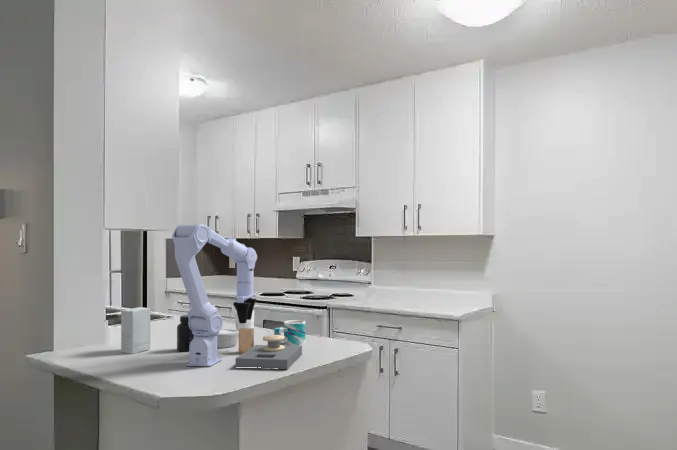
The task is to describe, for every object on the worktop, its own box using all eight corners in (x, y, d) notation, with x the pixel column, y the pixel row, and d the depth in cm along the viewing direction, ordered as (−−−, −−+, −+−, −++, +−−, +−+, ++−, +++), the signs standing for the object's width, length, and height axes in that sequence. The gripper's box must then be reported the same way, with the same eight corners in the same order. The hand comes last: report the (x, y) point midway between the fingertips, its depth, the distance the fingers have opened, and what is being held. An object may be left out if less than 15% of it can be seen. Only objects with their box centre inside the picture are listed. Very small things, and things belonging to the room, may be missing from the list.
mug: (309, 344, 190) (309, 321, 191) (281, 349, 183) (281, 325, 183) (297, 341, 197) (297, 319, 197) (270, 345, 190) (270, 322, 190)
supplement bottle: (172, 351, 181) (172, 316, 181) (186, 347, 187) (186, 314, 187) (187, 352, 177) (187, 317, 178) (201, 349, 183) (201, 315, 184)
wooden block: (251, 353, 176) (251, 329, 176) (238, 353, 177) (238, 329, 177) (253, 351, 179) (253, 328, 179) (241, 351, 180) (241, 328, 180)
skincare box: (139, 348, 186) (139, 306, 186) (151, 349, 183) (151, 307, 183) (119, 352, 178) (120, 309, 179) (132, 354, 175) (132, 310, 176)
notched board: (287, 369, 153) (287, 346, 153) (235, 368, 156) (235, 344, 156) (301, 355, 173) (301, 334, 173) (255, 353, 175) (255, 333, 175)
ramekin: (244, 343, 193) (244, 329, 194) (230, 349, 183) (230, 334, 183) (217, 342, 196) (217, 328, 197) (201, 348, 186) (201, 333, 186)
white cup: (231, 336, 207) (231, 311, 208) (240, 333, 215) (240, 308, 215) (249, 337, 205) (249, 312, 205) (257, 334, 213) (257, 309, 213)
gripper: (251, 283, 172) (252, 324, 172) (260, 280, 186) (261, 318, 186) (231, 283, 172) (231, 324, 172) (241, 280, 187) (241, 318, 186)
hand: (245, 321), depth 179 cm, fingers open, 7 cm apart
